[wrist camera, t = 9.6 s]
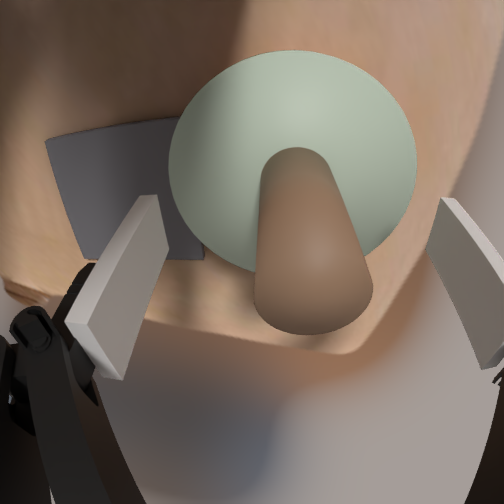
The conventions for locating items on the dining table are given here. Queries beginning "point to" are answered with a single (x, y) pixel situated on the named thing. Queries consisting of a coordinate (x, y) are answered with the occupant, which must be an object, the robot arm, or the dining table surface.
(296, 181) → the lid
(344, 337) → the dining table surface
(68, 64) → the dining table surface
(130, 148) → the mat
